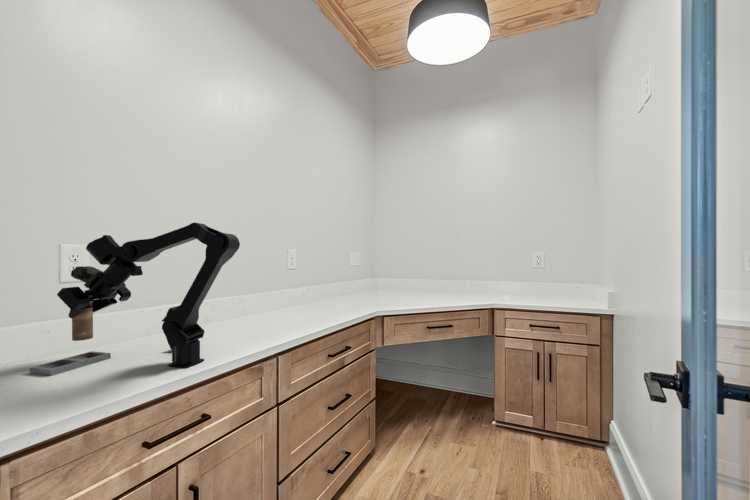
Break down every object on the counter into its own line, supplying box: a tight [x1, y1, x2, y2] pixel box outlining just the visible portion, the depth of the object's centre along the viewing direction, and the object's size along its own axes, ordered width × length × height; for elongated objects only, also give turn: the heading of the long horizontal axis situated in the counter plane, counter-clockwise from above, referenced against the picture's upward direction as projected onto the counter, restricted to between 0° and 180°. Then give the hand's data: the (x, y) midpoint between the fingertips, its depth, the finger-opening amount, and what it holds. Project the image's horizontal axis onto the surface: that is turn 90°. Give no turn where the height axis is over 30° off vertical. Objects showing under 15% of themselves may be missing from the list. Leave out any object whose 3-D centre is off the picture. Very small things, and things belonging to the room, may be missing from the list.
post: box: [71, 302, 94, 342], centre depth 97 cm, size 4×4×12 cm
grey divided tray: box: [29, 350, 112, 377], centre depth 94 cm, size 8×15×2 cm, turn 165°
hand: (78, 315), depth 97 cm, fingers closed on post, 4 cm apart
